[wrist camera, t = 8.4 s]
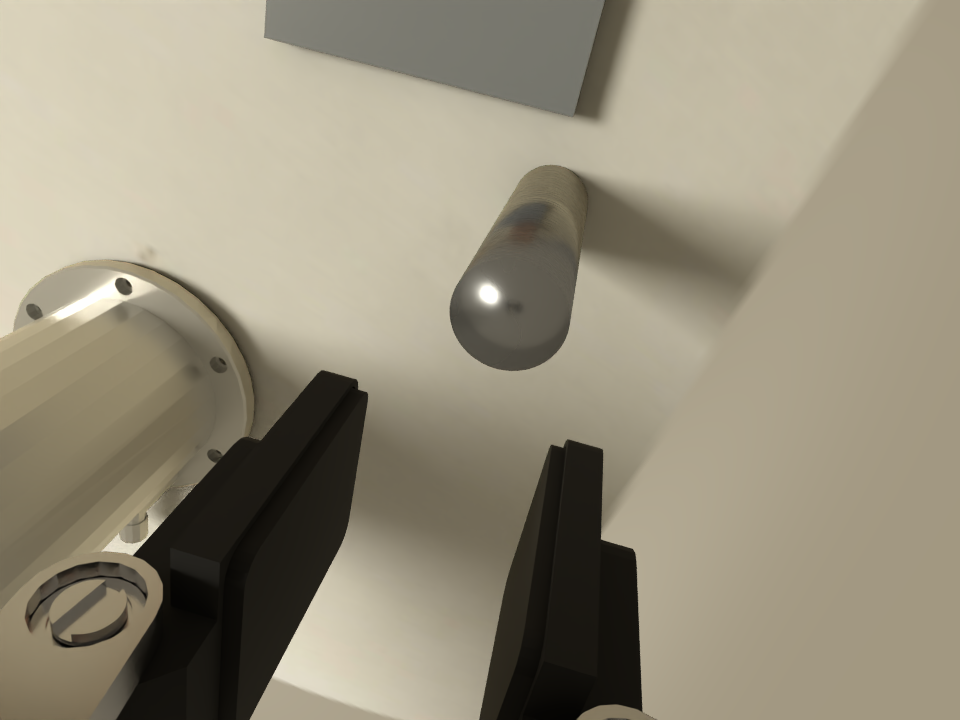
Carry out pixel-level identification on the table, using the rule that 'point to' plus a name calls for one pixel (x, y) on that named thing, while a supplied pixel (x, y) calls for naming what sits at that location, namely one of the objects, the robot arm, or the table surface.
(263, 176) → the table surface
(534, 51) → the track
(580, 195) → the dowel
